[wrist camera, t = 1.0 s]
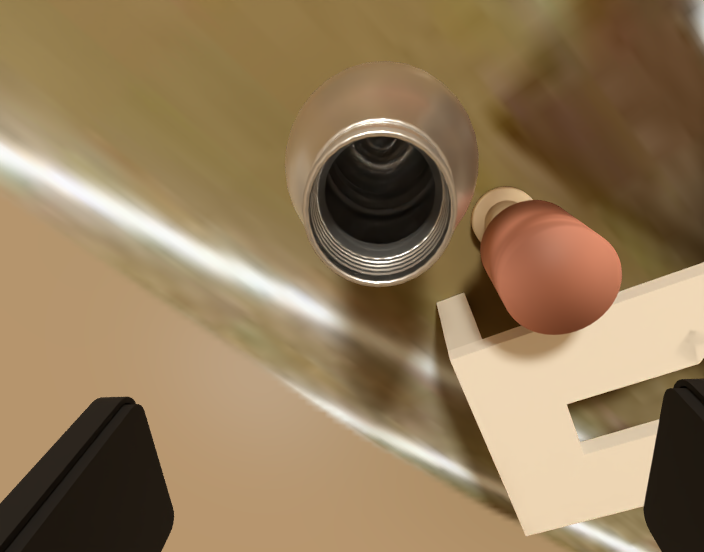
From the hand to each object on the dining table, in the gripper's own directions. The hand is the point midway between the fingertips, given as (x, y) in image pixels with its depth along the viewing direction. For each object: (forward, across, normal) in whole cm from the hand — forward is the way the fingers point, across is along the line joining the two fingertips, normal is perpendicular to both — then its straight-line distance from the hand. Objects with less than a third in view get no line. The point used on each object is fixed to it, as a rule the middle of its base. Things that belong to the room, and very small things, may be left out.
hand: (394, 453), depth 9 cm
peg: (+24, -7, +2) cm, 25 cm away
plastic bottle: (+24, 0, -3) cm, 24 cm away
